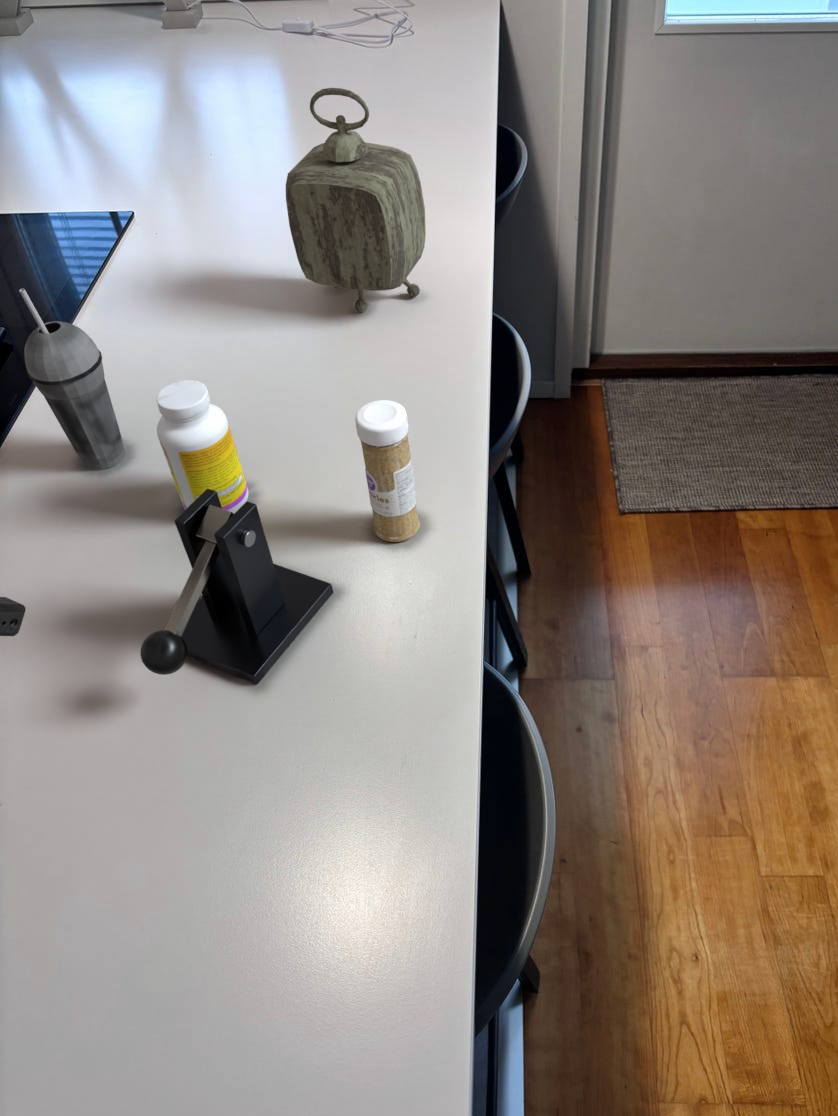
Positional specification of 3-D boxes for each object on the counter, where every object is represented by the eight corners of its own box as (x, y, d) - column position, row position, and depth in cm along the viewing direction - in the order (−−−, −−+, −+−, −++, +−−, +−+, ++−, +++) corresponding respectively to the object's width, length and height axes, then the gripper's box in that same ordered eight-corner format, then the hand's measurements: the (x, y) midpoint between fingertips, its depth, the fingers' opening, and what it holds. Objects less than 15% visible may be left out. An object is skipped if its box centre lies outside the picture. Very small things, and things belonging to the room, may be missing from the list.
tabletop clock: (432, 291, 125) (412, 77, 106) (408, 329, 120) (381, 110, 101) (329, 279, 129) (291, 70, 110) (300, 315, 123) (255, 101, 104)
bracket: (257, 685, 83) (219, 578, 74) (165, 648, 87) (117, 541, 77) (333, 592, 90) (308, 483, 81) (245, 561, 94) (211, 453, 84)
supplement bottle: (263, 494, 100) (233, 386, 91) (217, 532, 97) (181, 424, 87) (216, 473, 103) (182, 366, 93) (170, 509, 99) (130, 401, 90)
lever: (184, 685, 80) (159, 675, 76) (150, 670, 81) (123, 660, 77) (256, 527, 82) (234, 511, 78) (221, 515, 83) (198, 499, 79)
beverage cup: (152, 444, 107) (87, 271, 92) (109, 485, 102) (33, 310, 87) (99, 430, 109) (27, 258, 94) (55, 469, 105) (-28, 296, 90)
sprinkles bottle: (364, 531, 96) (343, 416, 86) (397, 506, 98) (380, 391, 88) (398, 551, 93) (380, 435, 83) (431, 525, 96) (417, 410, 86)
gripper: (-140, 579, 46) (109, 596, 62) (-324, 493, 50) (-44, 530, 66) (-182, 728, 47) (75, 706, 63) (-361, 632, 50) (-75, 635, 67)
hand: (13, 616), depth 65 cm, fingers closed
